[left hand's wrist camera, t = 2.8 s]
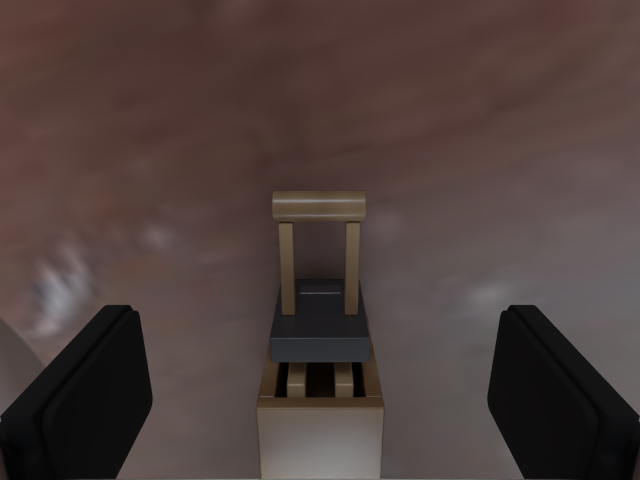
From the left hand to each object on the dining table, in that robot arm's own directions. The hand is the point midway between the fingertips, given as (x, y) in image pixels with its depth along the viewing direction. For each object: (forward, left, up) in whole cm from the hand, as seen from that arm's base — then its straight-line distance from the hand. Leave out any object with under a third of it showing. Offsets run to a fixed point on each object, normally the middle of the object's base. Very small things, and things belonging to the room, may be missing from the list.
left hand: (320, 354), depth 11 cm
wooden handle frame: (-5, +6, -12) cm, 14 cm away
